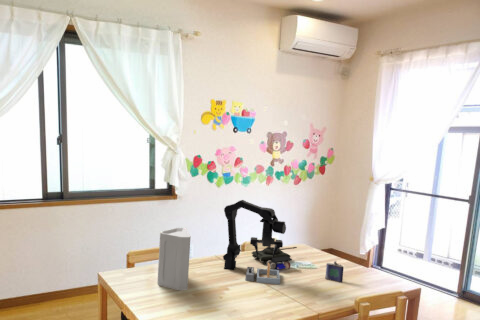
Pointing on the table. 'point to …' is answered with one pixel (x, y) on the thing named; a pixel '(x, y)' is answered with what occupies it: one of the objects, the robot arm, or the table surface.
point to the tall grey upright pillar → (174, 258)
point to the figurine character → (285, 263)
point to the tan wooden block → (268, 270)
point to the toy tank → (269, 254)
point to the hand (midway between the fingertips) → (265, 256)
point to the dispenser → (250, 274)
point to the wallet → (334, 272)
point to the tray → (268, 280)
